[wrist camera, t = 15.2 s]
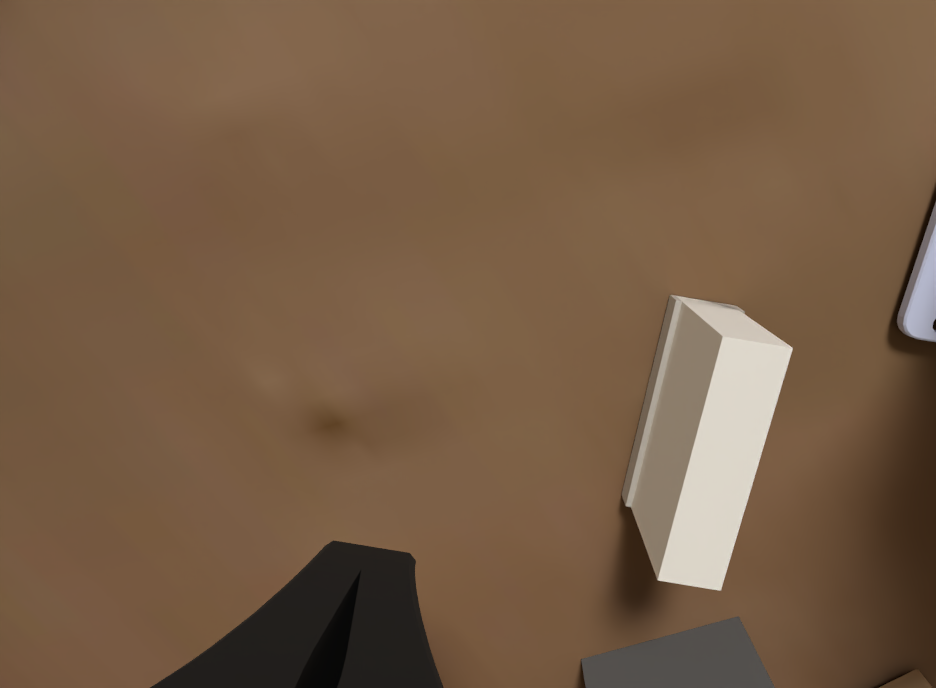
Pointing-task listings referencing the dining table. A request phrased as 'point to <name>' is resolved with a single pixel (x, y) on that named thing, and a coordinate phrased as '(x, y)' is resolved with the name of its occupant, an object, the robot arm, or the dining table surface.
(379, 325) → the dining table surface
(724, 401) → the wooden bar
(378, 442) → the dining table surface
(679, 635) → the gray rectangular block
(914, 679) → the door
